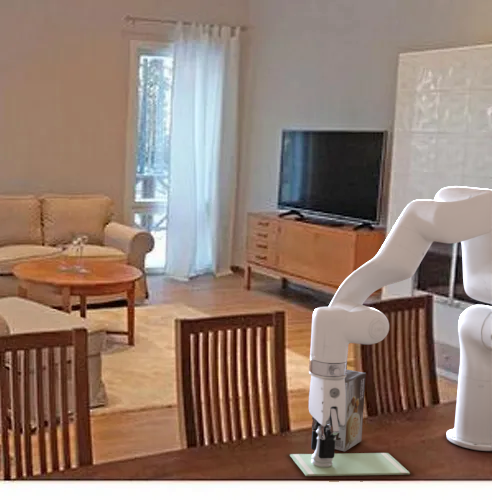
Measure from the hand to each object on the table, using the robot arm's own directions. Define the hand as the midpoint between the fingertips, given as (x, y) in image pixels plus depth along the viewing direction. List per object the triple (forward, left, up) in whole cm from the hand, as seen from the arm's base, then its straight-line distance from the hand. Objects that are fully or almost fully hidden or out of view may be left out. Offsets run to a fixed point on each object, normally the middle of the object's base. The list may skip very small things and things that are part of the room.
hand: (322, 452), depth 175 cm
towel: (-6, -1, -3) cm, 7 cm away
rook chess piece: (0, 0, -3) cm, 3 cm away
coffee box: (-9, -13, -3) cm, 16 cm away
